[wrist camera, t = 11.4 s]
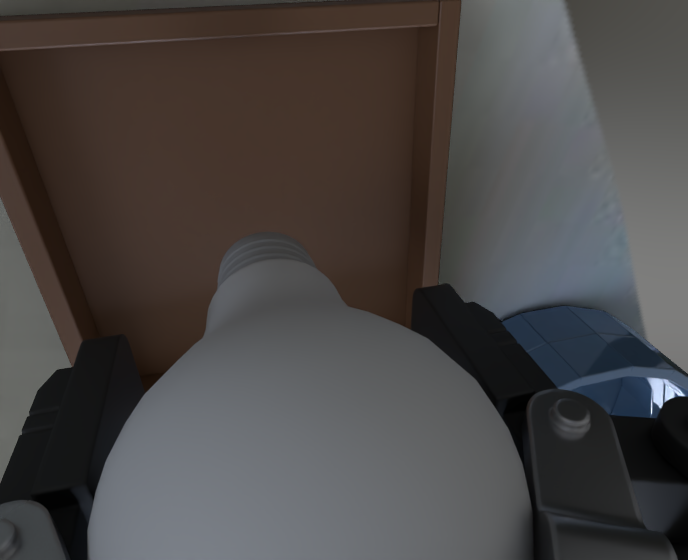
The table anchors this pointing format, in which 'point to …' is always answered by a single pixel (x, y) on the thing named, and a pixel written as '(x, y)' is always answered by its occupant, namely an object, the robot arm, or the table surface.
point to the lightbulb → (309, 437)
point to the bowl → (599, 359)
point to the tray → (223, 156)
